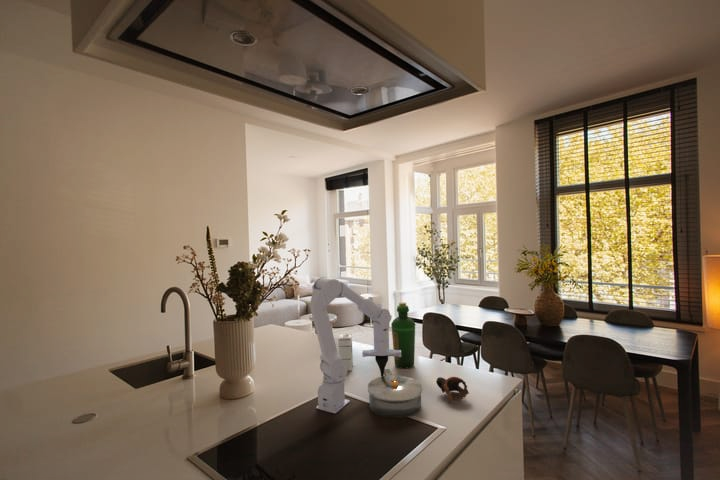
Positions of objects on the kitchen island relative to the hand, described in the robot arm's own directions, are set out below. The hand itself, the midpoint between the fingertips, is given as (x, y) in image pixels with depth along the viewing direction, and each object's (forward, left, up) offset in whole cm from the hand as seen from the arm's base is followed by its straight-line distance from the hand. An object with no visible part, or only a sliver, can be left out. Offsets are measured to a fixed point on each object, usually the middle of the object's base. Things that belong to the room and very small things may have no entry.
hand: (382, 375), depth 130 cm
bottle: (+26, +2, -6) cm, 27 cm away
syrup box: (+12, +24, -6) cm, 27 cm away
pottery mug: (+6, -25, -6) cm, 26 cm away
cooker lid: (-6, -7, 0) cm, 10 cm away
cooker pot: (-6, -9, -5) cm, 12 cm away
